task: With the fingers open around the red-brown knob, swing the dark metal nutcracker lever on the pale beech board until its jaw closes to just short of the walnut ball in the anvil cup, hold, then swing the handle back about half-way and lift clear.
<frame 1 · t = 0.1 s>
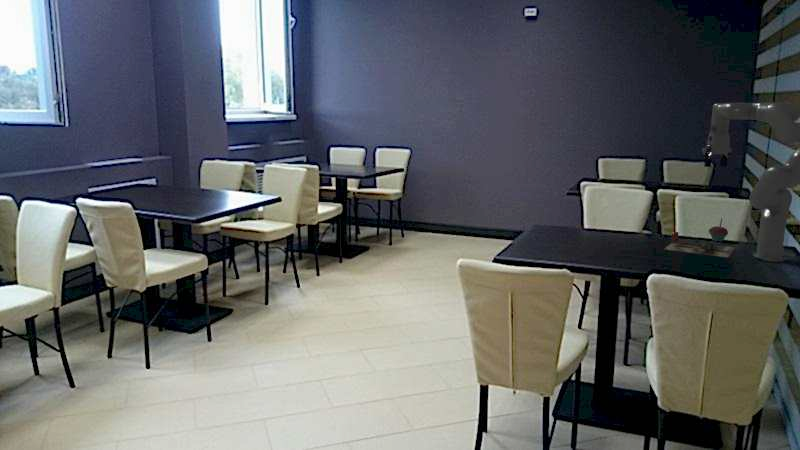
hand: (715, 166, 286), 37 cm above the table, tool pointing down, fingers open, 9 cm apart
walnut: (705, 252, 269), point 1 cm above the table, touching cracker base
cracker base: (699, 250, 277), on the table
cupcake: (717, 241, 299), on the table
lever: (697, 241, 277), point 4 cm above the table, hinge at 0.0°
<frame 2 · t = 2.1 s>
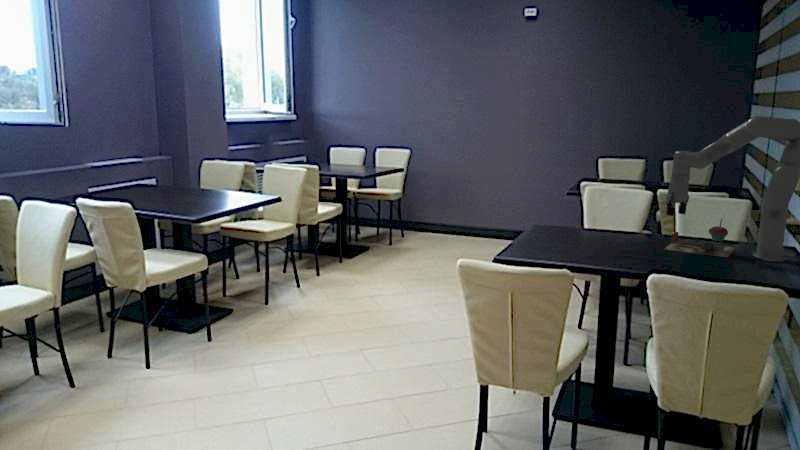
hand: (675, 214, 281), 16 cm above the table, tool pointing down, fingers open, 9 cm apart
nothing on the table moved.
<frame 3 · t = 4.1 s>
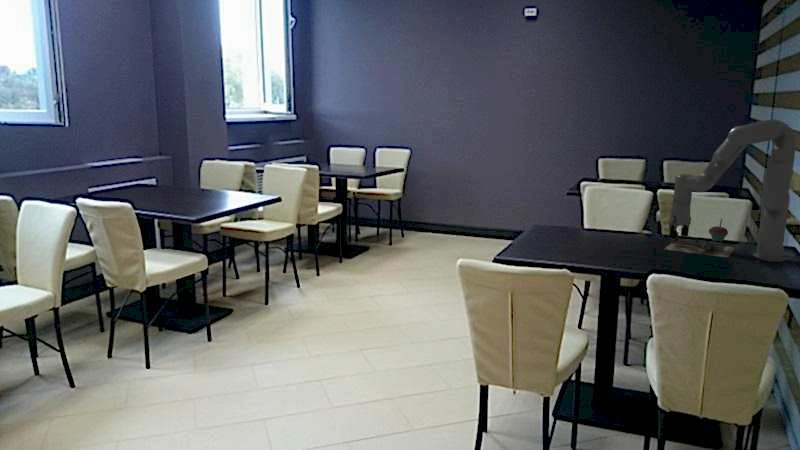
hand: (678, 237, 284), 5 cm above the table, tool pointing down, fingers open, 9 cm apart
lever: (697, 241, 277), point 4 cm above the table, hinge at -0.1°, touching gripper
everything else where it was.
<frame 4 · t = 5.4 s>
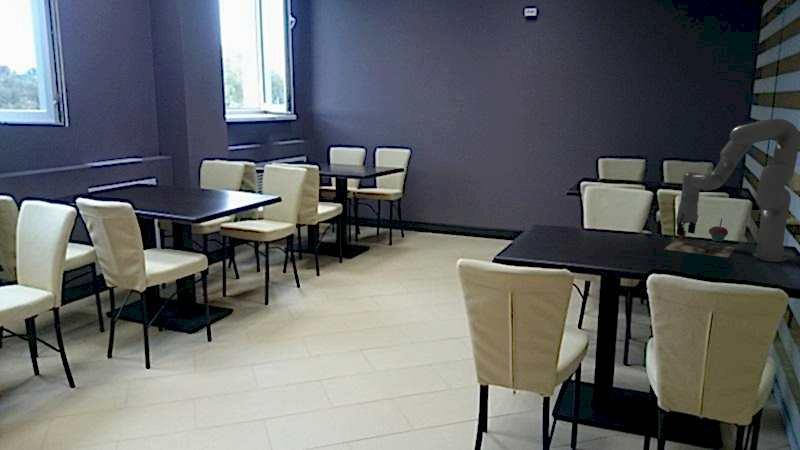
hand: (685, 234, 289), 5 cm above the table, tool pointing down, fingers open, 9 cm apart
lever: (699, 240, 278), point 4 cm above the table, hinge at -29.6°, touching gripper
everything else where it was.
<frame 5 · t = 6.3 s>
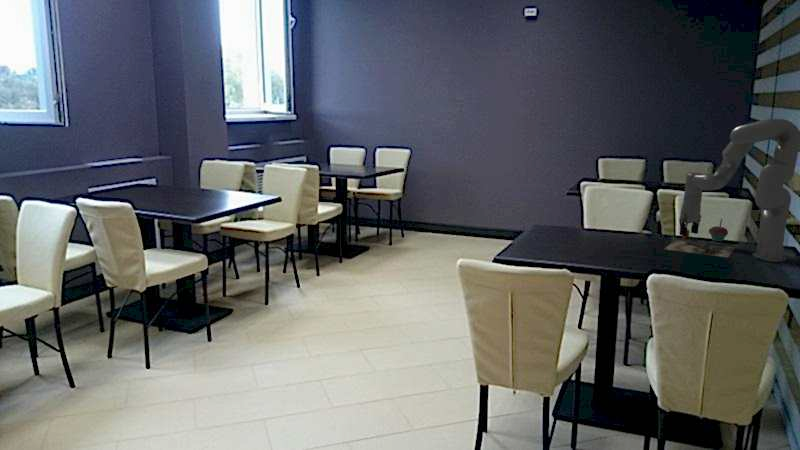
hand: (688, 234, 290), 5 cm above the table, tool pointing down, fingers open, 9 cm apart
lever: (700, 240, 279), point 4 cm above the table, hinge at -38.5°, touching gripper
everything else where it was.
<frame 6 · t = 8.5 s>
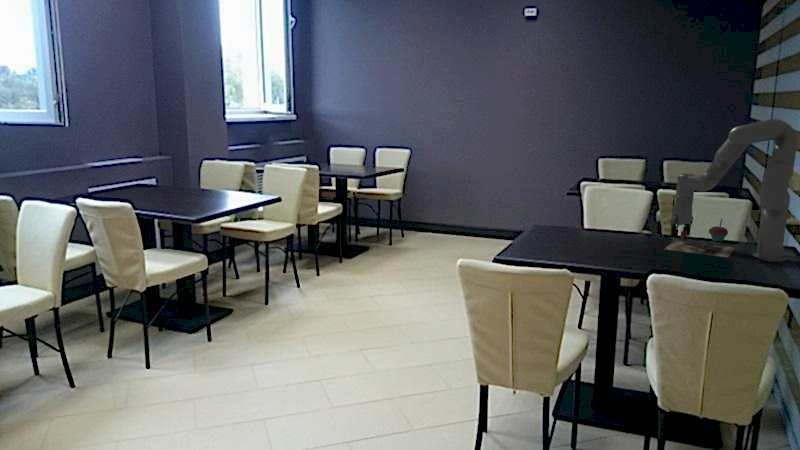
hand: (680, 236, 286), 5 cm above the table, tool pointing down, fingers open, 9 cm apart
lever: (700, 240, 278), point 4 cm above the table, hinge at -34.0°
everything else where it was.
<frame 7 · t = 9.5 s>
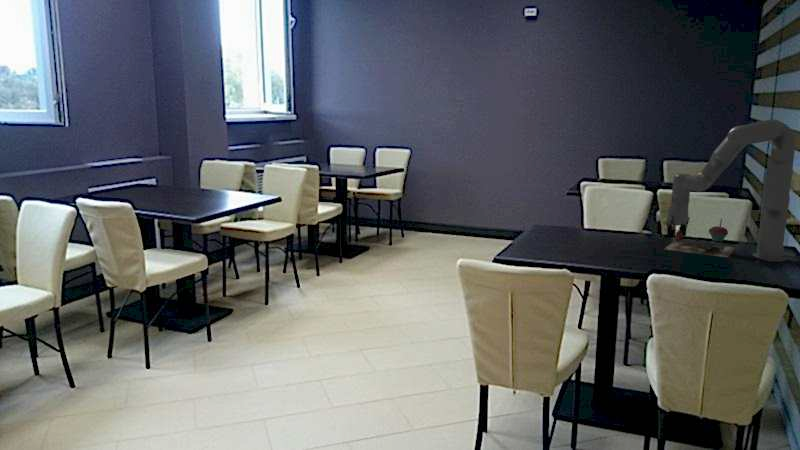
hand: (676, 236, 284), 5 cm above the table, tool pointing down, fingers open, 9 cm apart
lever: (698, 240, 278), point 4 cm above the table, hinge at -20.1°, touching gripper
everything else where it was.
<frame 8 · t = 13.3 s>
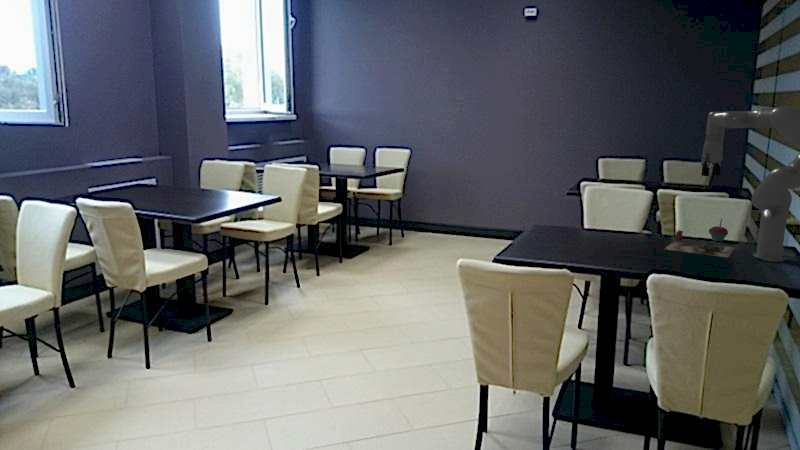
hand: (710, 175, 284), 33 cm above the table, tool pointing down, fingers open, 9 cm apart
lever: (698, 240, 278), point 4 cm above the table, hinge at -20.1°
everything else where it was.
at the end: lever at -20° (first picture: +0°); walnut moved 0.0 cm from its start; lever touching nothing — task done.
